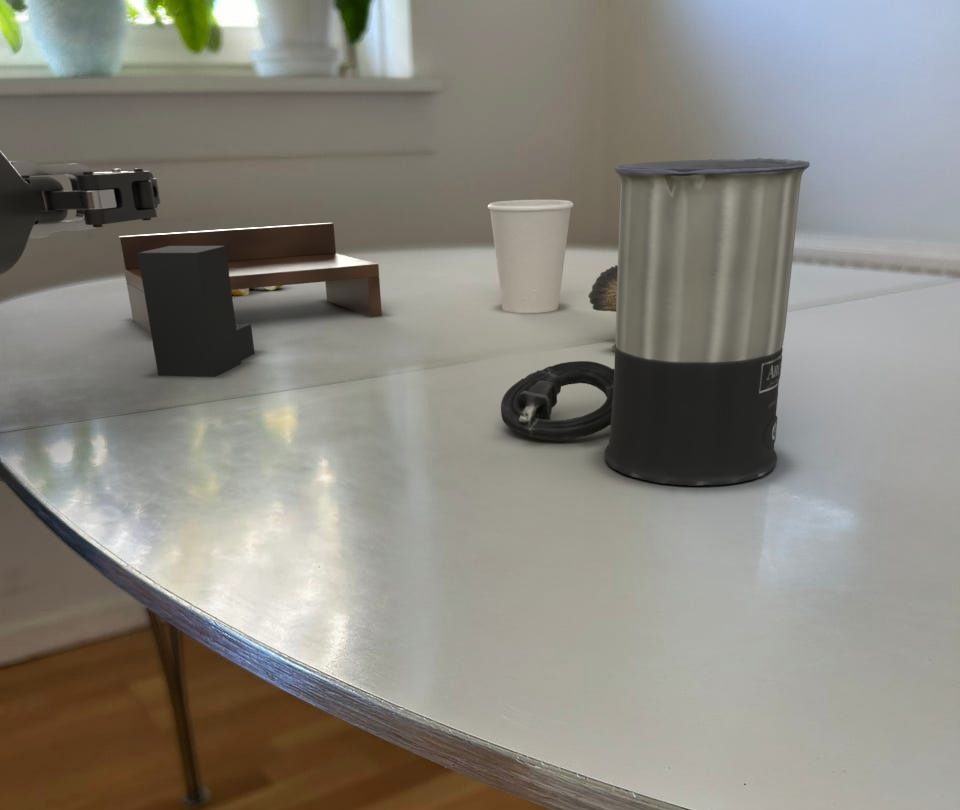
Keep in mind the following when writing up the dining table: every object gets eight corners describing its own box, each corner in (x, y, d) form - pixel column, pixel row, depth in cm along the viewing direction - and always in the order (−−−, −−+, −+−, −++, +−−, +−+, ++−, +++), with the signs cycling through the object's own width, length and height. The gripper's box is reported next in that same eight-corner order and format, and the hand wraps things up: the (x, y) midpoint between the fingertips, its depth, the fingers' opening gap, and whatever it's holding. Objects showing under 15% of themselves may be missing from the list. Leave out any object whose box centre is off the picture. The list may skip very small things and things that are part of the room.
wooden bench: (159, 340, 91) (143, 247, 87) (133, 320, 101) (118, 236, 98) (382, 316, 100) (376, 230, 96) (337, 300, 110) (330, 222, 106)
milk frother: (784, 494, 49) (824, 162, 43) (471, 483, 52) (462, 169, 45) (762, 419, 62) (791, 154, 55) (511, 414, 64) (509, 159, 58)
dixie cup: (574, 314, 98) (576, 204, 93) (489, 316, 98) (487, 206, 94) (568, 301, 105) (570, 198, 101) (490, 303, 106) (488, 200, 101)
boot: (215, 378, 76) (197, 252, 72) (158, 376, 77) (137, 252, 73) (261, 354, 84) (247, 240, 80) (209, 353, 85) (192, 240, 81)
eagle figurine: (597, 319, 89) (565, 315, 81) (647, 248, 85) (619, 237, 77) (663, 372, 88) (637, 373, 80) (716, 302, 84) (695, 296, 76)
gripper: (17, 118, 46) (183, 121, 60) (-242, 128, 48) (-26, 128, 63) (53, 290, 49) (202, 254, 63) (-191, 290, 52) (3, 256, 66)
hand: (88, 192), depth 63 cm, fingers open, 8 cm apart
